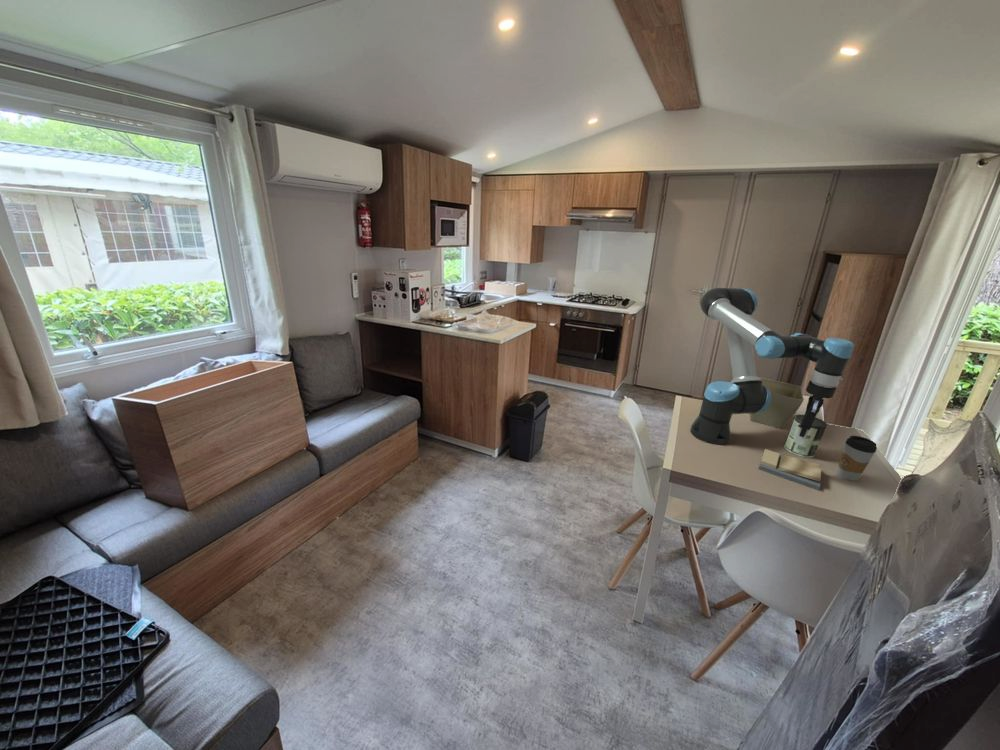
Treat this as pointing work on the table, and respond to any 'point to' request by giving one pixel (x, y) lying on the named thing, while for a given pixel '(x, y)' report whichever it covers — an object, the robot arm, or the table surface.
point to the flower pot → (779, 403)
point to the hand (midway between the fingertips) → (798, 442)
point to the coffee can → (810, 441)
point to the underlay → (771, 465)
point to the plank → (800, 467)
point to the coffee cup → (855, 457)
